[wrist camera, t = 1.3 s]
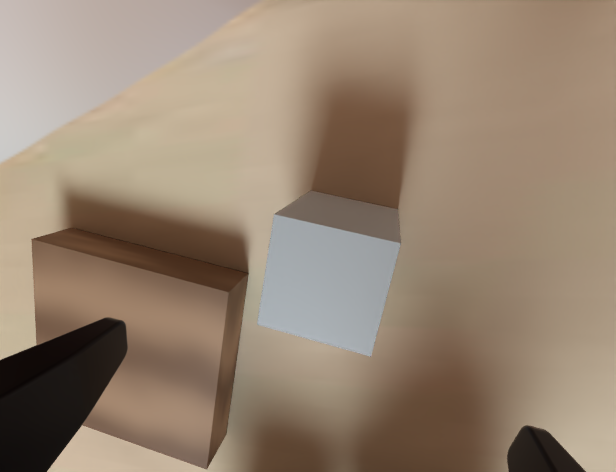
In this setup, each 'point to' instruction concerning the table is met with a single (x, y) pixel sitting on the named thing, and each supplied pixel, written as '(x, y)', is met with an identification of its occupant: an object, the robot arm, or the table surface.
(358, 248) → the grey block
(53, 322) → the walnut base
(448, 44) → the table surface
